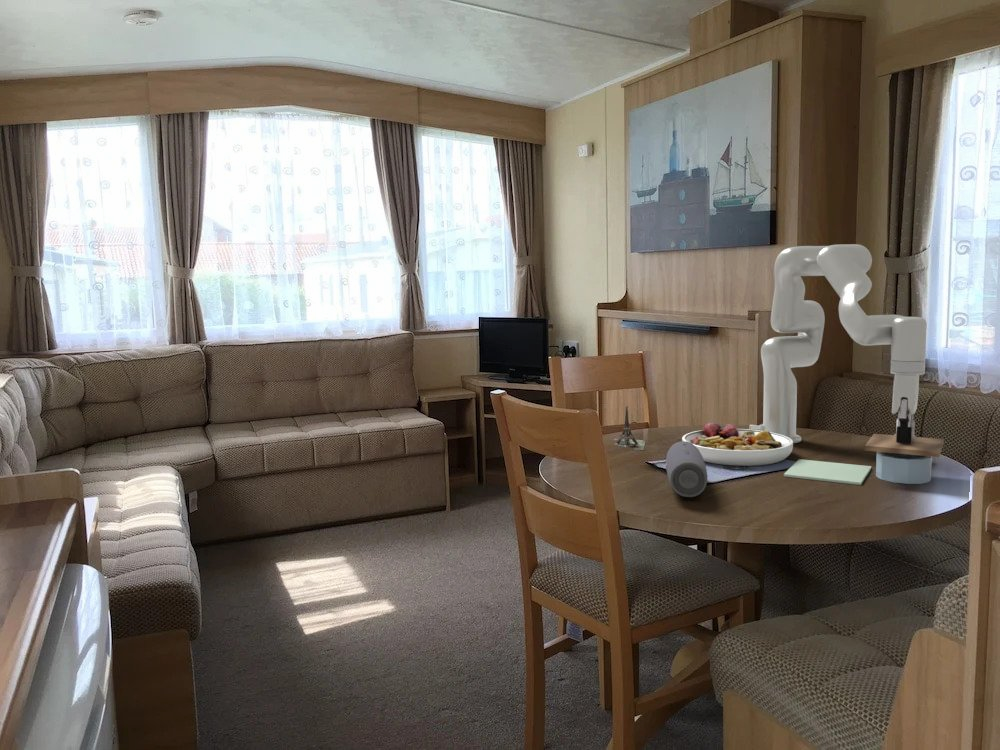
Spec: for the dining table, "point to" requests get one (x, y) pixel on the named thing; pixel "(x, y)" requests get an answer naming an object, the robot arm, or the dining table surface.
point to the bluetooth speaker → (686, 469)
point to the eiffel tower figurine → (629, 436)
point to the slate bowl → (903, 468)
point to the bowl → (739, 445)
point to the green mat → (828, 471)
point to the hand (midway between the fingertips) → (904, 440)
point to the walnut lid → (905, 444)
